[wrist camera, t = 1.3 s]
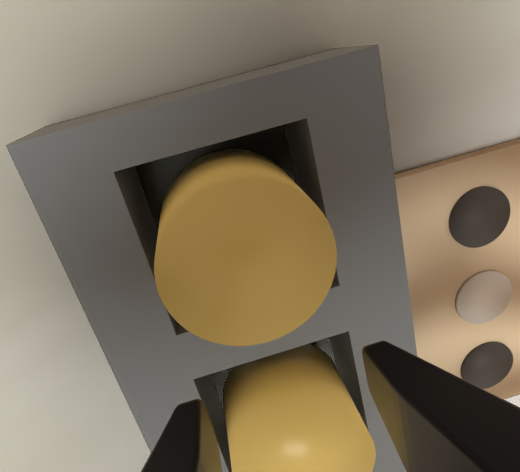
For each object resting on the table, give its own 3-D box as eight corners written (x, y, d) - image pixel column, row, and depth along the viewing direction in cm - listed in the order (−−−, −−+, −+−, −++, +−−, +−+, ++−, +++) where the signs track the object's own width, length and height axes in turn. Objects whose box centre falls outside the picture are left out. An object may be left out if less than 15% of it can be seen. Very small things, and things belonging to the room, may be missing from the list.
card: (547, 375, 25) (558, 384, 24) (413, 419, 24) (420, 430, 24) (551, 128, 19) (566, 131, 19) (379, 178, 19) (386, 183, 18)
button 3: (312, 261, 17) (349, 316, 13) (185, 299, 17) (186, 366, 13) (284, 132, 15) (318, 154, 11) (139, 172, 15) (126, 209, 11)
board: (406, 492, 27) (443, 561, 23) (228, 552, 26) (236, 633, 22) (334, 48, 17) (377, 44, 13) (45, 126, 16) (6, 145, 12)
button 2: (347, 415, 20) (384, 495, 16) (239, 450, 20) (253, 539, 16) (327, 325, 18) (364, 392, 14) (208, 362, 18) (215, 440, 14)
